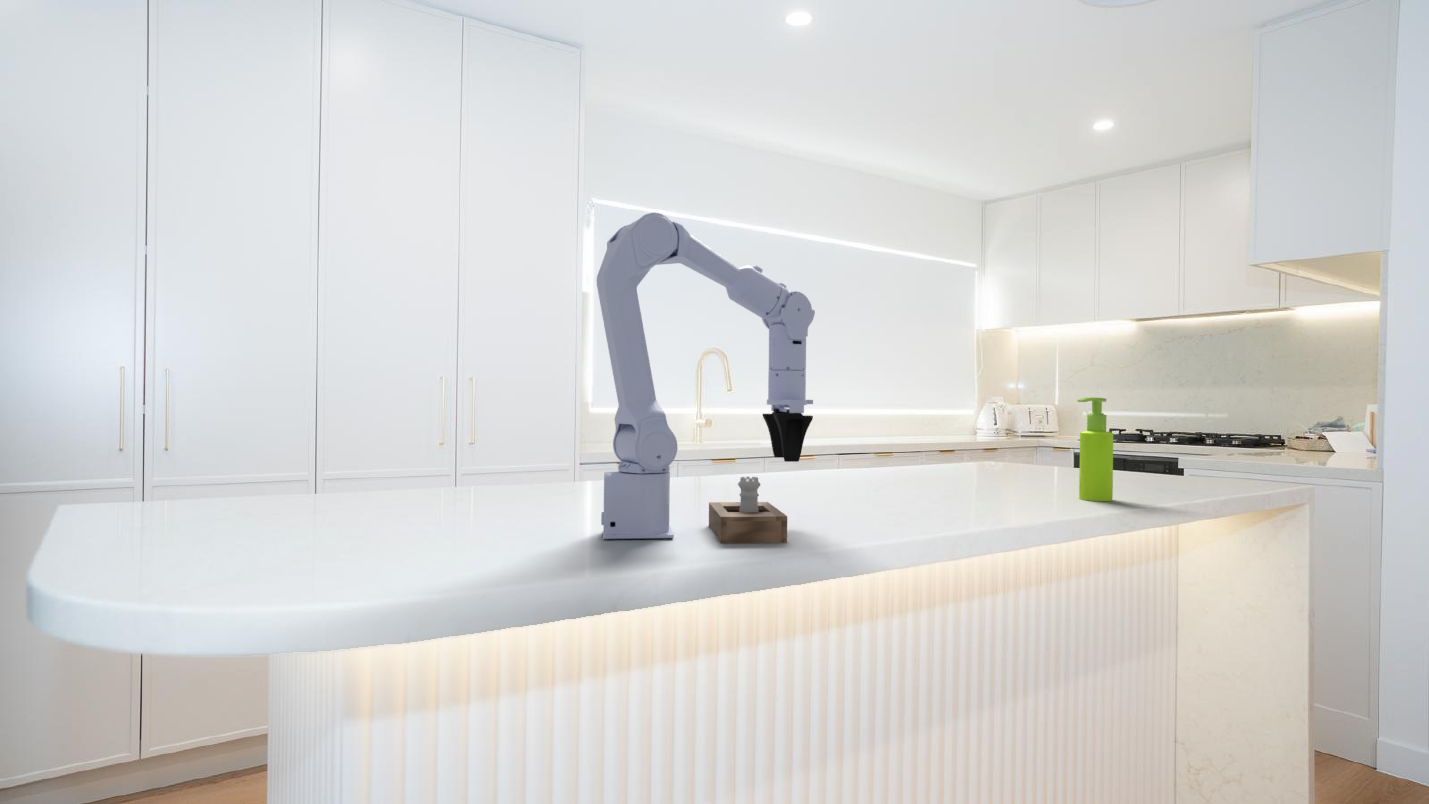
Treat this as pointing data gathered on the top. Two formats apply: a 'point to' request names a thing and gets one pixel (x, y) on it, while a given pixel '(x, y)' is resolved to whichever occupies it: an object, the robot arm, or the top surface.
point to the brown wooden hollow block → (747, 523)
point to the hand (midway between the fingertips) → (786, 459)
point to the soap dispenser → (1096, 456)
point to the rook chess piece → (749, 494)
